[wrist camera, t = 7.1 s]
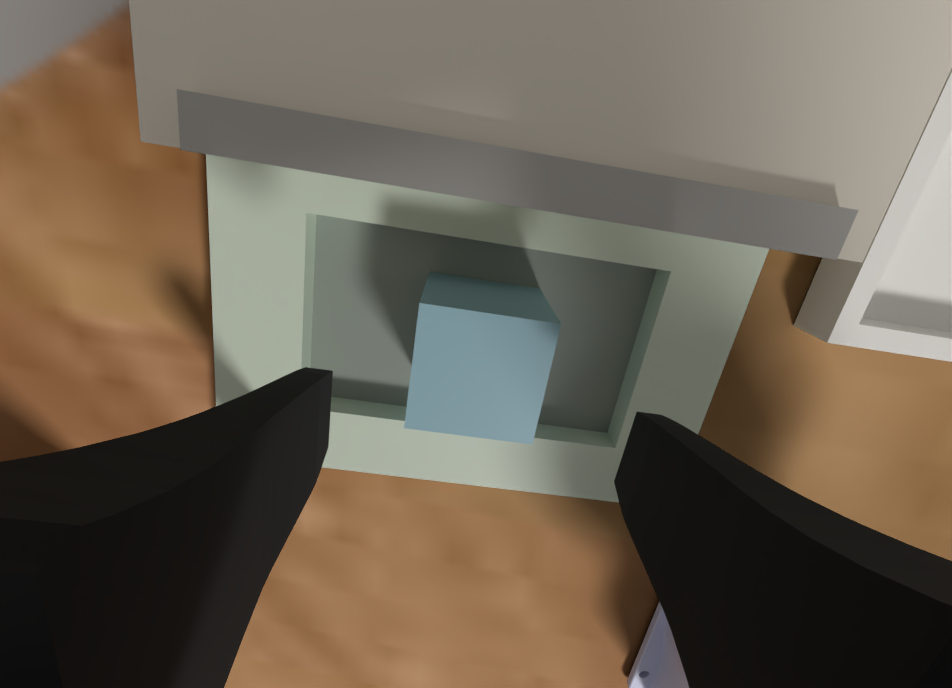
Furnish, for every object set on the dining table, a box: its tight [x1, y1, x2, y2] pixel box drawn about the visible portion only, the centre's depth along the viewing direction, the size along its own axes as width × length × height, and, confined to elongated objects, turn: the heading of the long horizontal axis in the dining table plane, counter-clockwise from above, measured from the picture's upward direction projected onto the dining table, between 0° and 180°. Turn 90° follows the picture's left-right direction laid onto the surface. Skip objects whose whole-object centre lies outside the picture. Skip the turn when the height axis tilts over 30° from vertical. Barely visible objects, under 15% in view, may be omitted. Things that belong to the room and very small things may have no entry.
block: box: [404, 272, 561, 444], centre depth 16 cm, size 4×4×4 cm
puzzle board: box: [206, 154, 769, 503], centre depth 14 cm, size 17×18×6 cm
